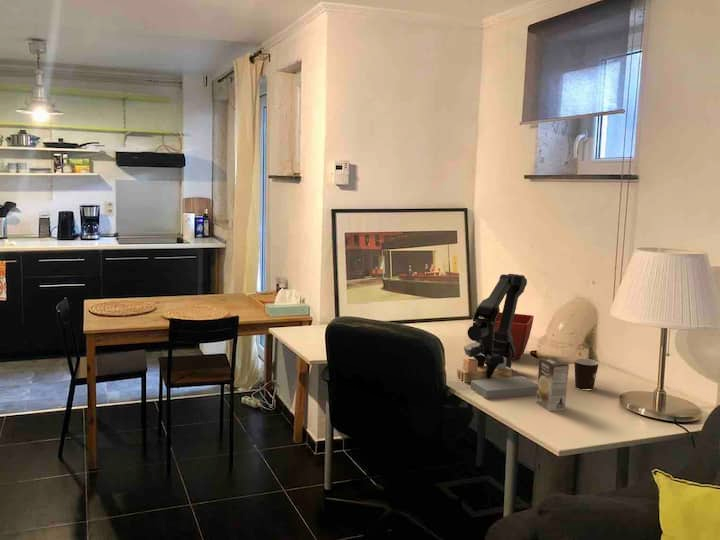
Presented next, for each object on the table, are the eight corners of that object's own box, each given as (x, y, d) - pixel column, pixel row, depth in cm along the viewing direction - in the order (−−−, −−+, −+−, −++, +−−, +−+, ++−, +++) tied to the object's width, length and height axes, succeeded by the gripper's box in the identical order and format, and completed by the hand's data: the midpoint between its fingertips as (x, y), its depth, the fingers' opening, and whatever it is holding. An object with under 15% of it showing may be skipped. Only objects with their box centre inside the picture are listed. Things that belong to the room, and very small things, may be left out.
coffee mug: (584, 392, 249) (586, 366, 248) (567, 385, 257) (569, 359, 255) (607, 388, 255) (609, 362, 253) (589, 382, 262) (592, 356, 261)
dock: (522, 384, 257) (523, 376, 257) (540, 394, 246) (541, 386, 246) (470, 388, 250) (470, 380, 250) (486, 399, 239) (486, 390, 239)
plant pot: (479, 357, 292) (481, 319, 290) (488, 347, 310) (490, 310, 307) (524, 363, 285) (527, 324, 283) (531, 352, 303) (534, 315, 300)
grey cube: (500, 365, 267) (501, 355, 267) (505, 368, 263) (506, 358, 263) (491, 366, 266) (492, 356, 265) (496, 369, 262) (497, 359, 262)
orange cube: (472, 367, 263) (472, 357, 263) (477, 370, 259) (477, 360, 259) (463, 368, 262) (463, 358, 261) (467, 371, 258) (468, 361, 258)
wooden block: (502, 374, 269) (503, 364, 269) (511, 379, 263) (511, 369, 263) (456, 377, 263) (457, 367, 262) (464, 382, 257) (465, 372, 256)
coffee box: (535, 402, 237) (538, 357, 235) (551, 401, 239) (554, 356, 236) (549, 411, 228) (552, 365, 226) (566, 410, 230) (569, 364, 228)
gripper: (456, 331, 267) (454, 370, 269) (479, 343, 249) (476, 384, 252) (481, 330, 270) (479, 368, 273) (506, 341, 253) (503, 382, 255)
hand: (484, 375), depth 263 cm, fingers closed on wooden block, 6 cm apart
